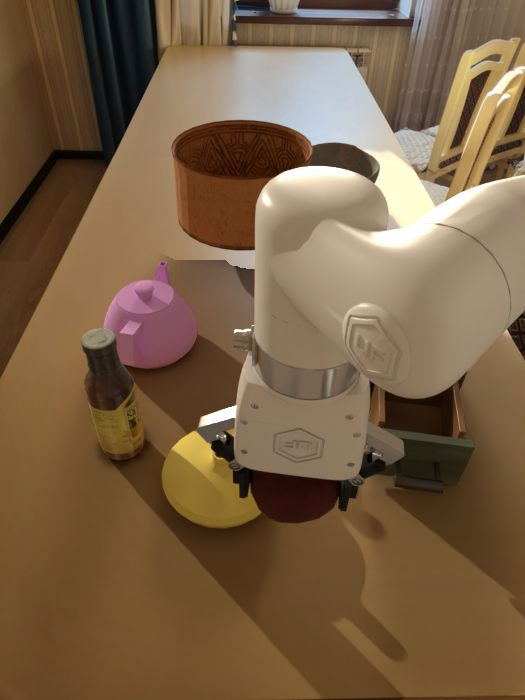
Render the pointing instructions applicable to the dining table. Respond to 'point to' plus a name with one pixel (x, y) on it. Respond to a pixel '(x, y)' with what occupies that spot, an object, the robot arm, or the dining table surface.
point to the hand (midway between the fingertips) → (293, 490)
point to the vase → (204, 485)
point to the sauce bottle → (112, 397)
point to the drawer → (424, 437)
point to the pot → (230, 176)
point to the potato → (293, 496)
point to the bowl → (345, 159)
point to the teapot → (151, 322)
